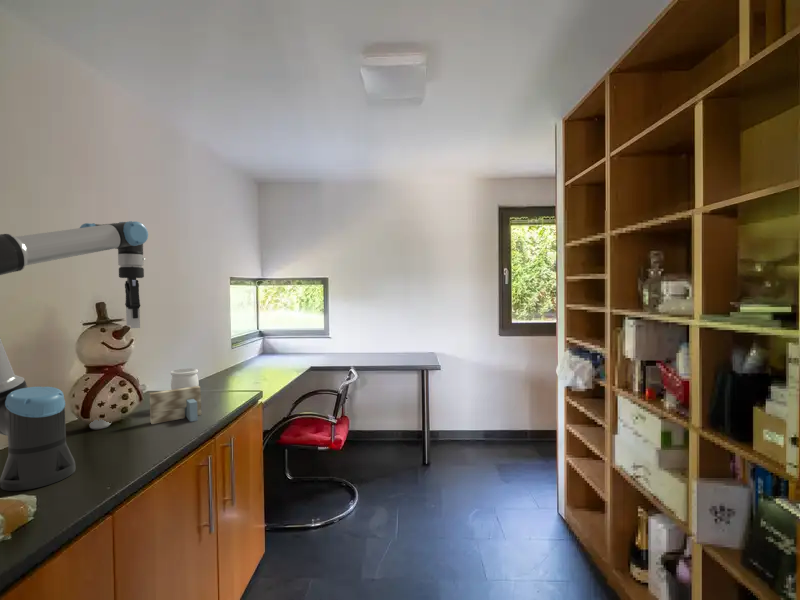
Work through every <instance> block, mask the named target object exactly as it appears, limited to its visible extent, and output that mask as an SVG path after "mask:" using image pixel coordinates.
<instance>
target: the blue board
mask: <svg viewBox="0 0 800 600" xmlns="http://www.w3.org/2000/svg"><path fill="white" fill-rule="evenodd" d="M186 401H187V407H186V408H185V418H187V420H188V421H189V422H190V423H191V422H197V421H198V420H199V419H198V418H199V417H198V416H199V415H198V414H197V401H195V400H194V399H189V400H186Z"/></svg>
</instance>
